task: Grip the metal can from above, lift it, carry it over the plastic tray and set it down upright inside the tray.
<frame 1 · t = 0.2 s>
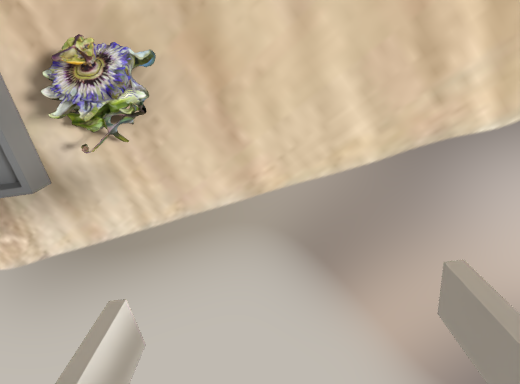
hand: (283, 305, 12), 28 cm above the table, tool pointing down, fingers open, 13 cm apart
passion flower: (121, 92, 36), on the table
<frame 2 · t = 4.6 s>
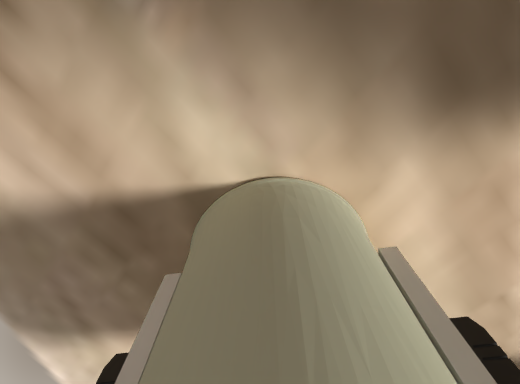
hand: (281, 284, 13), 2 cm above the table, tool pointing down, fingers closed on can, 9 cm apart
can: (278, 256, 15), on the table, touching gripper
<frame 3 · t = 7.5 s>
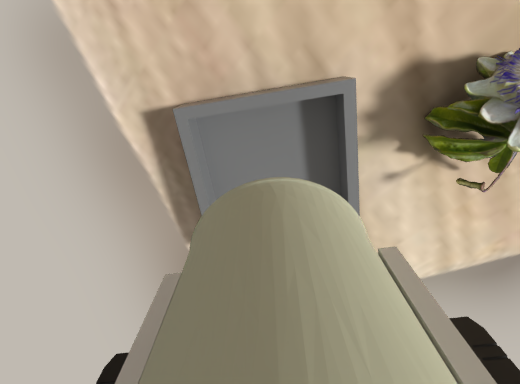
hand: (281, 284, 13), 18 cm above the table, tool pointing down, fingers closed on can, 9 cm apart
tray: (273, 167, 30), on the table
passion flower: (488, 108, 28), on the table
can: (278, 256, 15), point 16 cm above the table, touching gripper
when the fingers open (4 cm above the table, at t = 10.6 s): can drops 1 cm, resting on tray.
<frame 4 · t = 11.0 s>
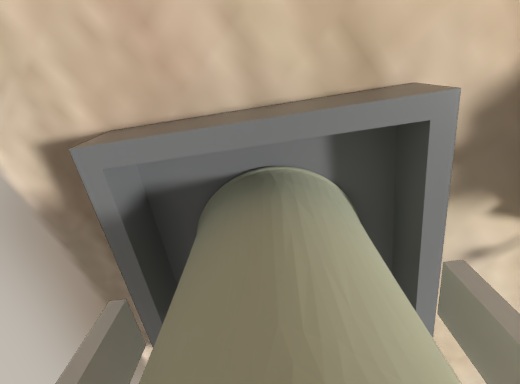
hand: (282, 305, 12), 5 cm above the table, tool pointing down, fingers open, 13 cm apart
tray: (277, 237, 17), on the table
can: (278, 240, 17), resting on tray
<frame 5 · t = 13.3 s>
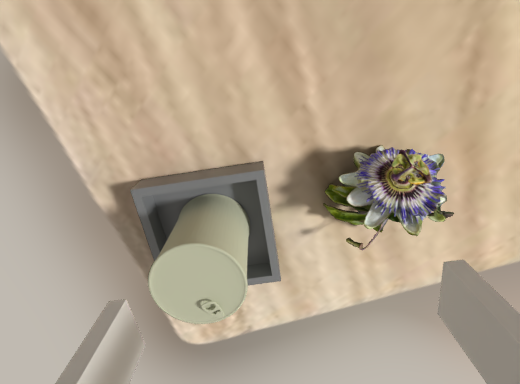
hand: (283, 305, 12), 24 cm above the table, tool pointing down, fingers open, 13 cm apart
tray: (214, 224, 38), on the table
passion flower: (372, 183, 37), on the table
can: (214, 225, 38), resting on tray
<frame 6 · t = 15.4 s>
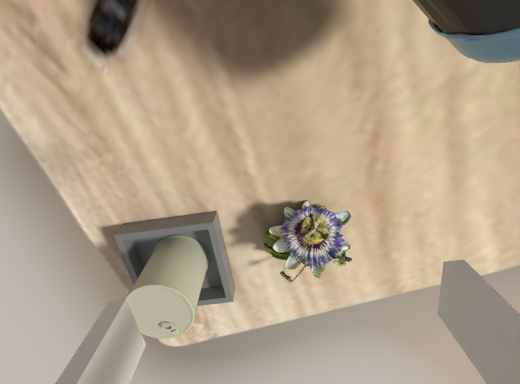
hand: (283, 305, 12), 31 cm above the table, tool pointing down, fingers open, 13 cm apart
tray: (182, 256, 48), on the table
passion flower: (304, 227, 46), on the table
can: (181, 258, 48), resting on tray
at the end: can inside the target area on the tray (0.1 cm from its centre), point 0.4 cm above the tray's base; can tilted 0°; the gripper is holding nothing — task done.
